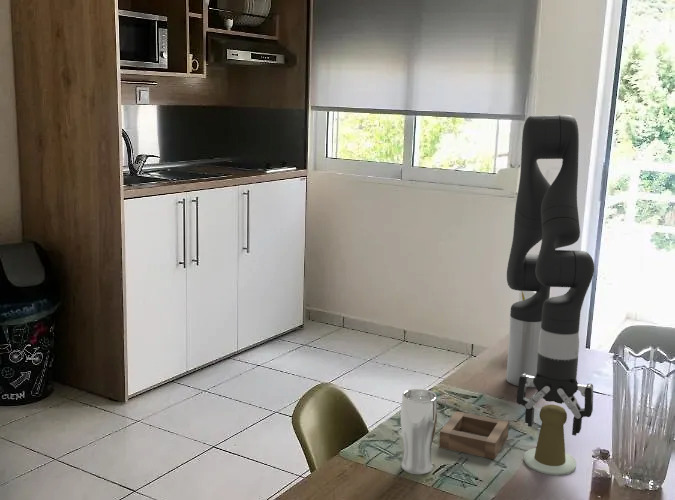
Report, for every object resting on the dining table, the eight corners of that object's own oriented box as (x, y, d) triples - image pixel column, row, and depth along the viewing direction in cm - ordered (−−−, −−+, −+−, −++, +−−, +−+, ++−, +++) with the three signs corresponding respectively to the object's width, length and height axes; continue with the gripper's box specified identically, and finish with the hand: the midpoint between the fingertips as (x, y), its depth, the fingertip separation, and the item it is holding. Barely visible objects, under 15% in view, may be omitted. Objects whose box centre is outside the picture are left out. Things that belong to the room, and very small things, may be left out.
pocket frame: (455, 425, 164) (456, 411, 163) (507, 436, 159) (508, 421, 159) (439, 447, 154) (439, 431, 153) (494, 459, 149) (495, 443, 148)
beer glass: (425, 479, 141) (428, 405, 138) (392, 469, 144) (395, 397, 141) (440, 464, 147) (443, 393, 144) (408, 455, 150) (411, 385, 147)
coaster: (529, 447, 155) (529, 443, 154) (579, 457, 150) (579, 454, 150) (518, 467, 146) (519, 464, 146) (571, 479, 141) (571, 475, 141)
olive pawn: (566, 467, 144) (571, 415, 142) (534, 464, 146) (538, 411, 143) (564, 453, 150) (568, 402, 148) (533, 450, 151) (537, 399, 149)
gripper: (599, 351, 144) (592, 429, 147) (525, 340, 150) (520, 415, 153) (594, 363, 137) (587, 444, 140) (516, 351, 143) (511, 429, 146)
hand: (552, 429), depth 147 cm, fingers open, 8 cm apart
